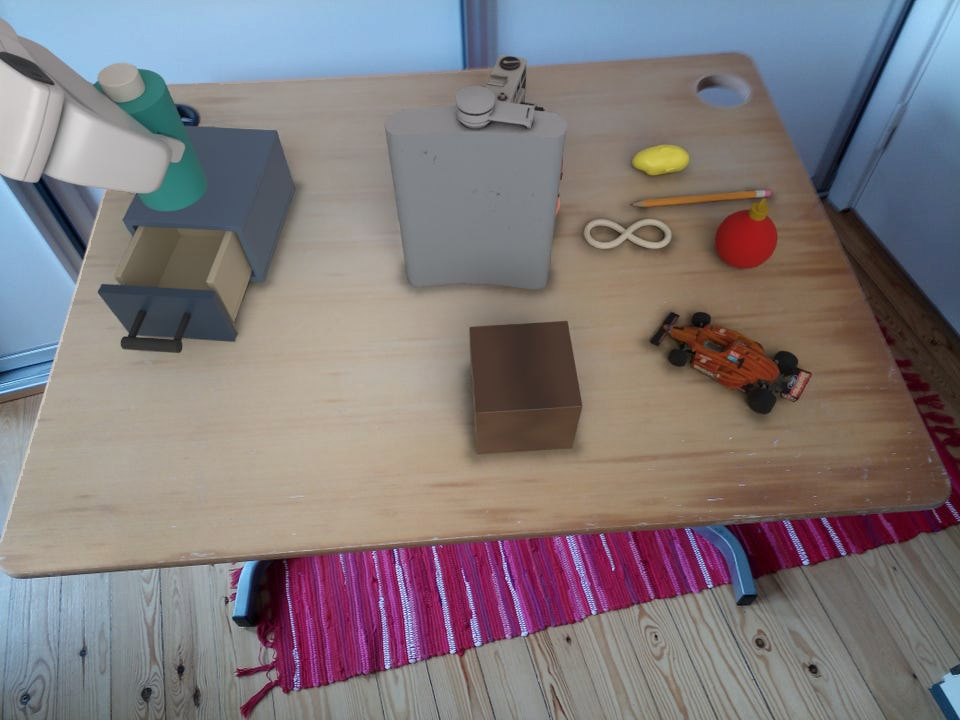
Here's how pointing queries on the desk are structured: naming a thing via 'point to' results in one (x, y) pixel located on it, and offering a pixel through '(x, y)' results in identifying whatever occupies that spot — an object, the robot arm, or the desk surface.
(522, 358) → the stand
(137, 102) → the detergent bottle
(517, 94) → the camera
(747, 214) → the christmas ornament
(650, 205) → the pencil
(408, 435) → the desk surface
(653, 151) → the lemon
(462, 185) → the flask
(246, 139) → the cabinet
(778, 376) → the toy car
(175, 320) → the drawer
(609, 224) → the decorative object
